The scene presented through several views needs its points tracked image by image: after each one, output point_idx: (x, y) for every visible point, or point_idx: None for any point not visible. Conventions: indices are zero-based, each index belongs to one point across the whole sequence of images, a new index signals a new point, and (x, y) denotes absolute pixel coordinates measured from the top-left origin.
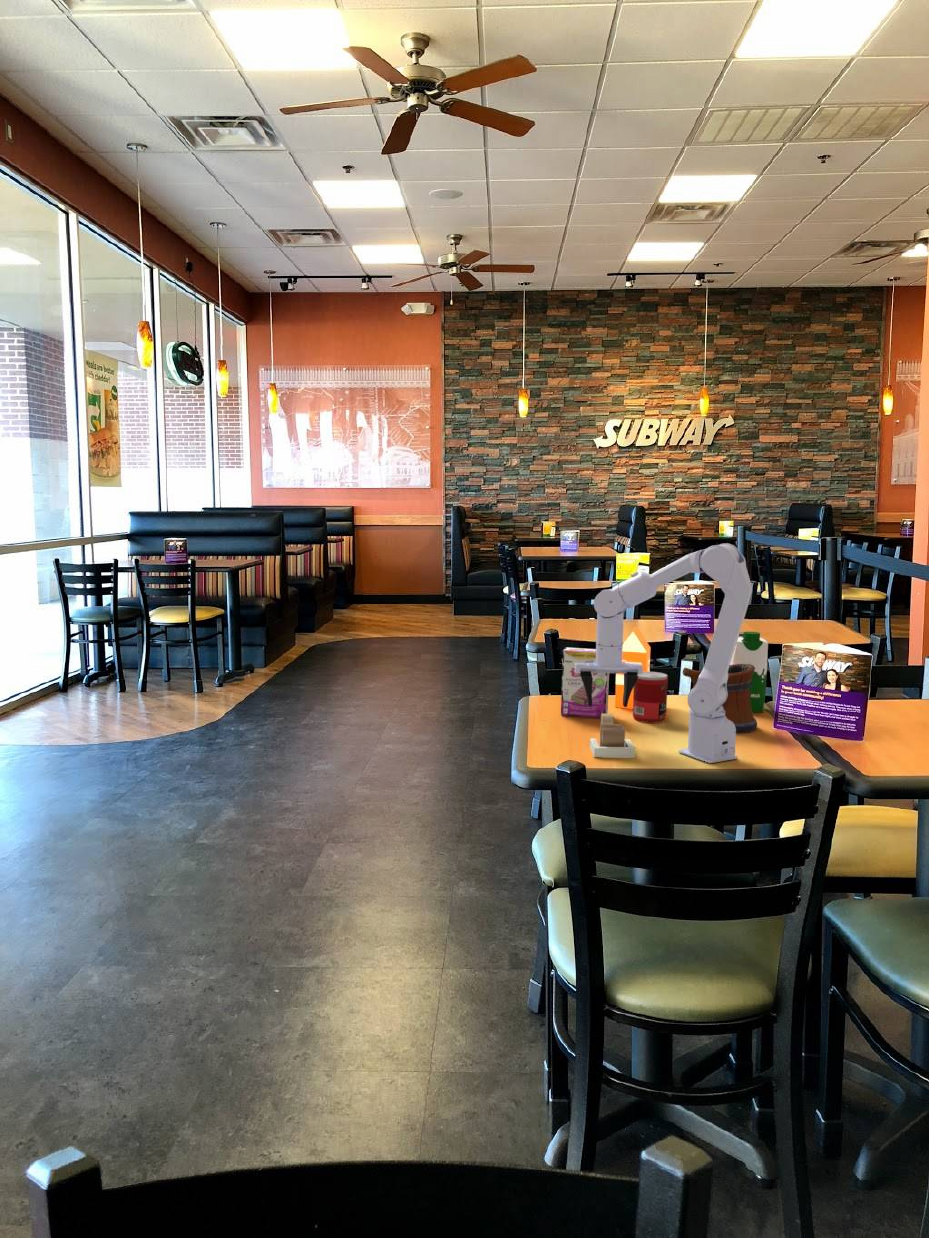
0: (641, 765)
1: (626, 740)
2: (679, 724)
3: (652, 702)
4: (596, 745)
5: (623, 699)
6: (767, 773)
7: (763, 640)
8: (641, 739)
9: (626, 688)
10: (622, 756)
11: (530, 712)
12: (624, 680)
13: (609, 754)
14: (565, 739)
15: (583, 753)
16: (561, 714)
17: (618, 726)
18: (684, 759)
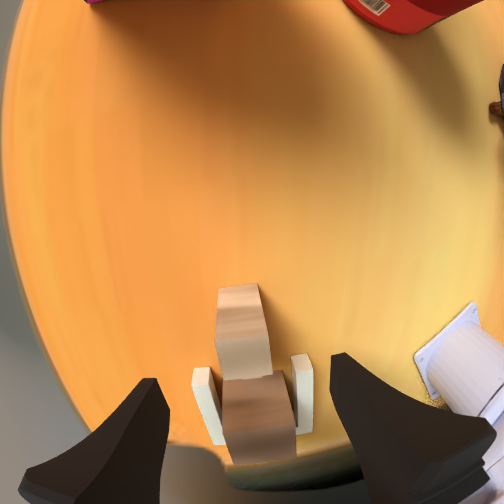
0: (312, 443)
1: (301, 385)
2: (455, 65)
3: (430, 11)
4: (217, 431)
5: (341, 387)
6: None
7: None
8: (357, 250)
9: (364, 473)
10: None
11: (21, 17)
12: (392, 461)
13: None
14: (109, 298)
15: (185, 408)
16: (88, 2)
17: (281, 441)
18: (405, 389)
